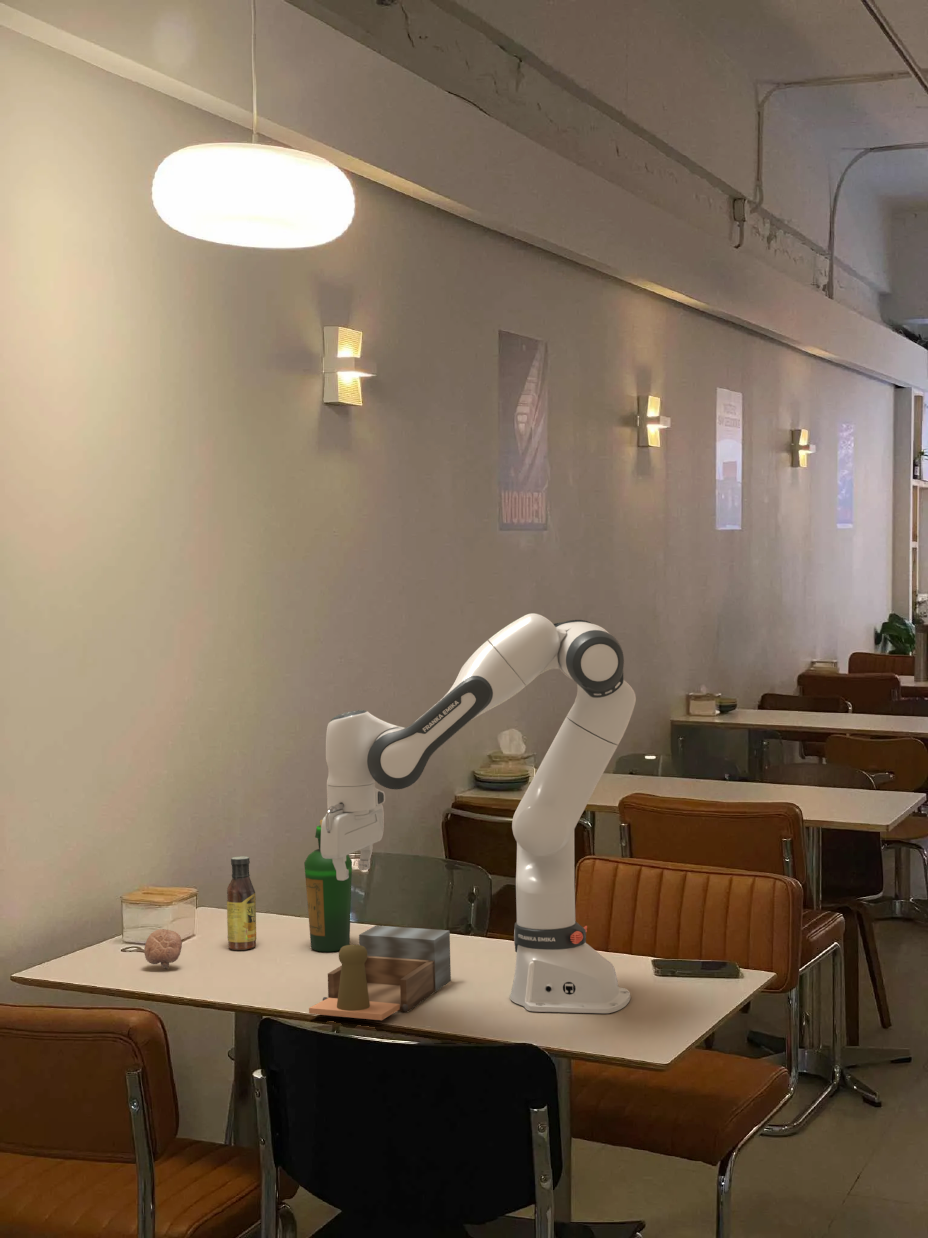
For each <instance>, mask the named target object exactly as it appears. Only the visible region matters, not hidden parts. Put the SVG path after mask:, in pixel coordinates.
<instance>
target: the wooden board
mask: <svg viewBox="0 0 928 1238" xmlns="http://www.w3.org/2000/svg"><path fill="white" fill-rule="evenodd" d="M337 1000H338V998H327V999H325V1000H323V999H322V1000H321V1001H319V1002H318V1003H316V1004H314V1005H312V1006H310V1007H309V1008H308V1014H310V1015H311V1014H313V1015H322V1016H331V1017H340V1018H341V1017H342V1018H354V1019H364V1020H365V1019H366V1020H374V1021H383V1020H385V1019H386V1018H388V1017H390V1016H392V1015H393V1014H395V1013H397V1012H396V1011H398V1010H400V1004H395V1003H383V1002H372V1001H369V1002H370V1007H369V1008H367V1009H363V1010H356V1011H347V1010H341V1009H338V1008H337Z"/></svg>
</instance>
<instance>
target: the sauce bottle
mask: <svg viewBox="0 0 928 1238" xmlns="http://www.w3.org/2000/svg"><path fill="white" fill-rule="evenodd" d="M230 864H231V881H230V882H229V883H228V886H227V888H226V889H227V890H226V894H227V897H226V898H227V899H226V915H227V917H226V919H227V921H226V922H227V941H228V944H227V945H228V948H229V949H230V950H232V951H246V950H250V949H254V948H255V947H256V945H257V908H256V907H257V906H256V905H257V904H256V901H257V900H256V891H255V888H254V886H253V882H252V881H251V880H252V879H251V877H250V876H251V875H250V864H251V862H250V857H249V856H246V855H245V856H244V855H242V856H241V855H240V856H233V857H231V858H230Z"/></svg>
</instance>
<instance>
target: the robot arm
mask: <svg viewBox="0 0 928 1238" xmlns="http://www.w3.org/2000/svg"><path fill="white" fill-rule="evenodd" d="M624 665H625V656H624V651H623V648H622V646H621V644H620V642H619V641H618V640H617V638H616V637H615V636H614V635H613V634H612V633H610V632H608V631H607V630H606V629H605V628H604V627H602V626H600V625H598V624H595V623H592V622H590V621H588V620H584V619H572V620H566V621H562V622H556V623H553V622H552V621H551V620H550V619H548V618H547V617H545V616H543V615H541V614H539V613H534V612H533V613H532V612H531V613H528V614H525V615H523V616H521V617H520V618H518V619H516V620H514V621H512V622H511V623H509V624H508V625H506V626H505V627H503V628H502V629H500V630H499V631H498V632H496V633H495V634H494V635H492V636H491V637H490V638H488V639H487V640H486V641H485V642H484V643H482V644H481V646H479V647H478V648H477V649H476V650H475V651H474V652H473V653H472V655H470V656H469V658H468V659H467V660H466V661H465V662H464V664H463V665H462V666H461V668H460V670H459V672H458V675H457V676H456V679H455V681H453V682H454V683H453V684H452V686H451V687H450V689H449V690H448V691H447V692H446V693H445V695H443V697H442V698H440V700H438V701H437V703H435V704H434V705H432V707H430V708H429V709H428V710H427V711H426V712H425V713H423V714H422V715H421V716H420V717H418V719H416V720H415V721H414V722H413V723H411V724H410V725H408V726H406V727H403V726H399V725H395V724H393V723H389V722H388V721H385V720H382V719H381V718H378V717H377V716H375V715H373V714H371V713H370V712H369V711H368V710H365V709H358V710H352V711H347V712H343V713H340V714H337V715H336V716H334V717H333V718H332V719H330V721H329V722H328V723H327V727H326V734H325V762H326V765H327V768H328V769H327V770H328V776H327V780H326V796H327V797H326V800H327V801H326V802H327V812H326V814H325V816H324V817H323V818H322V819H321V820H322V826H321V854H322V857H323V858H328V859H333V864H334V867H335V869H336V877H337V880H343V881H344V880H346V879H348V878H349V875H348V874H349V869H346V864H345V861H346V855H348V856H349V855H350V854H352V853H353V854H354V853H356V852H358V851H360V855H359V859H358V860H357V862H358V863H357V864H358V870H359V871H367V870H369V869H370V868H371V858H372V853H373V850H374V848H373V847H374V844H376V843H378V842H380V841H382V839H383V835H384V832H385V831H384V829H385V827H384V826H385V822H384V821H385V818H384V817H385V813H384V811H385V810H384V806H383V804H385V802H386V794H385V791H383V790H381V789H379V788H377V787H376V783H377V784H378V785H380V786H381V787H384V788H385V789H388V790H403V789H406V788H409V787H411V786H413V785H414V784H415V783H416V782H417V781H418V780H419V779H420V777H421V775H422V774H423V772H424V770H425V768H426V766H427V764H428V761H429V760H430V758H431V756H432V755H433V754H434V753H435V752H436V751H437V750H438V749H439V748H440V747H441V746H443V745H444V744H445V743H446V742H448V741H449V739H450V738H452V737H453V736H454V735H455V734H457V733H458V732H459V731H460V730H461V729H463V727H465V726H466V725H467V724H468V723H469V722H471V721H473V720H475V719H476V718H477V717H480V716H481V715H482V714H484V713H486V712H488V711H490V710H492V709H494V708H495V707H497V706H499V705H501V704H503V703H505V702H506V701H508V700H509V699H511V698H513V697H514V696H516V695H517V694H519V692H521V691H522V690H523V689H524V688H525V687H526V686H528V685H529V684H531V682H533V681H534V680H535V679H536V678H537V677H538V676H539V675H542V674H543V673H545V672H547V671H550V670H560V671H561V673H563V675H565V676H566V677H567V678H568V679H570V680H571V681H574V682H575V683H576V686H577V690H576V691H577V692H576V697H575V699H574V703H573V705H572V706H571V707H570V710H569V711H568V713H567V714H566V717H565V718H564V720H563V722H562V724H561V726H560V727H559V729H558V731H557V734H556V735H555V737H554V739H553V741H551V742H552V743H551V744H550V747H549V748H548V750H547V752H546V753H545V755H544V757H543V759H542V760H541V762H540V765H539V767H538V768H537V771H536V773H535V774H534V776H533V778H532V779H531V781H530V784H529V786H528V787H527V789H526V791H525V793H524V795H523V796H522V798H521V800H520V802H519V803H518V806H517V808H516V810H515V812H514V814H513V817H512V823H511V829H512V834H513V837H514V839H515V841H516V869H515V870H516V872H515V898H516V899H515V902H516V903H515V904H516V922H514V932H513V933H514V934H513V943H514V944H513V945H514V949H515V950H514V951H515V953H516V956H515V957H516V958H515V969H514V974H513V975H514V977H513V981H512V982H513V983H512V987H511V991H510V995H509V999H510V1000H511V1001H512V1002H513V1003H515V1004H517V1005H520V1006H522V1007H523V1008H525V1010H527V1011H529V1012H540V1013H541V1012H545V1013H573V1014H574V1013H578V1014H579V1013H580V1014H582V1013H583V1014H610V1013H615V1012H618V1011H620V1010H622V1009H623V1008H624V1007H626V1006H627V1005H628V1004H629V1002H630V1001H631V993H630V990H628V989H627V988H624V987H620V986H619V982H618V981H619V980H618V975H617V972H616V969H615V967H614V965H613V963H612V962H611V961H610V960H608V959H607V958H606V957H604V956H603V955H602V954H600V953H599V952H598V951H597V950H596V949H594V948H593V947H592V946H591V945H590V944H588V943H587V933H588V930H587V929H588V925H584V926H582V925H580V924H579V922H577V921H576V894H575V891H576V890H575V829H576V827H577V824H578V822H579V821H580V818H581V816H582V814H583V813H584V811H585V809H586V807H587V805H588V803H589V802H590V799H591V797H592V796H593V794H594V791H595V789H596V787H597V785H598V783H599V782H600V780H601V778H602V776H603V774H604V772H605V770H606V769H607V767H608V765H609V763H610V761H611V759H612V757H613V756H614V755H615V752H616V750H617V748H618V747H619V744H620V742H621V741H622V738H623V737H624V735H625V733H626V731H627V729H628V725H629V723H630V720H631V717H632V715H633V713H634V709H635V705H636V701H637V698H636V697H637V696H636V692H635V690H634V689H633V687H632V686H631V685H630V684H629V683H628V682H627V681H626V680H625V677H624V667H625V666H624Z"/></svg>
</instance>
